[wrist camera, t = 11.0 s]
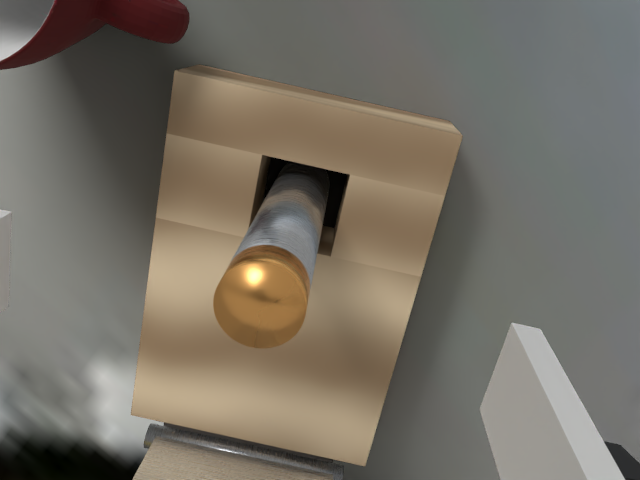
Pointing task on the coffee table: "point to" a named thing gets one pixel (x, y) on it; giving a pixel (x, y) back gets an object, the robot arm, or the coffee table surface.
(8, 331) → the coffee table surface
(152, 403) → the block
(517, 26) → the coffee table surface
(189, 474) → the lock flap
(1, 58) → the mug
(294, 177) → the pin
